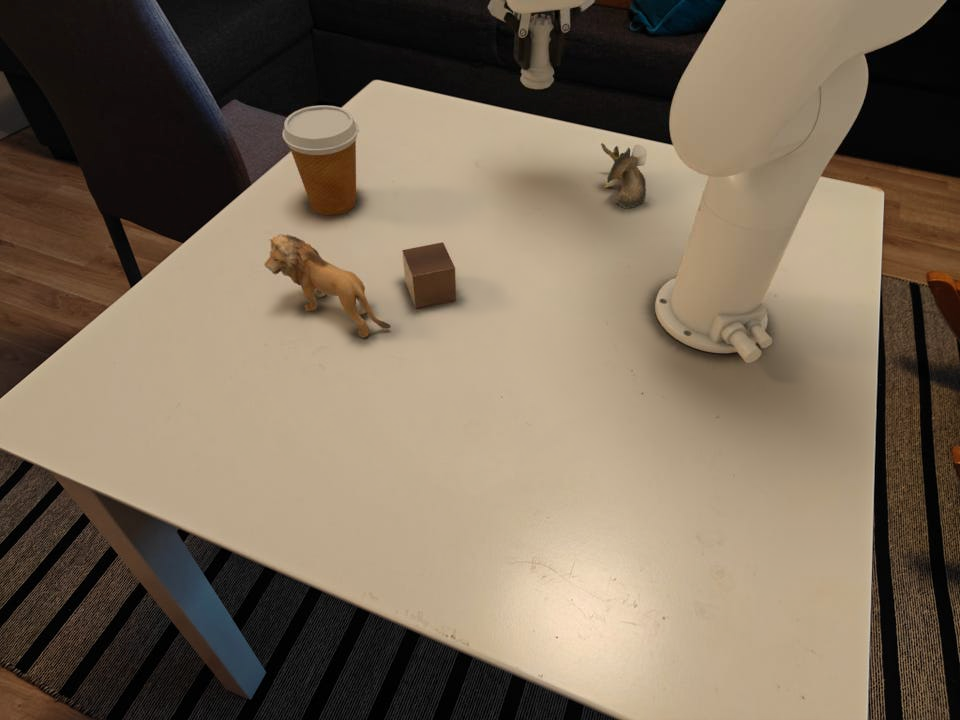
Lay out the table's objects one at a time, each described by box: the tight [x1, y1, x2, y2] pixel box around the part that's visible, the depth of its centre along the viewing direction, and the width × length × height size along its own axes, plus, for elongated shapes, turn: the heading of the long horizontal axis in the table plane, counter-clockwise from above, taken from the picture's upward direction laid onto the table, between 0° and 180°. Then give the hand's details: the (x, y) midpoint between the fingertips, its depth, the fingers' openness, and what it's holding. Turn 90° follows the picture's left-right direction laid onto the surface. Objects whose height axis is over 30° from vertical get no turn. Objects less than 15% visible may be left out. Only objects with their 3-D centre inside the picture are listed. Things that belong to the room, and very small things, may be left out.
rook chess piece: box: [519, 13, 555, 90], centre depth 82 cm, size 4×4×8 cm
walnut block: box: [401, 242, 457, 310], centre depth 76 cm, size 5×5×5 cm
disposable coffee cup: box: [282, 104, 359, 216], centre depth 86 cm, size 10×10×12 cm
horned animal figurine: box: [600, 142, 647, 209], centre depth 91 cm, size 8×7×9 cm
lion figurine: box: [264, 233, 391, 339], centre depth 72 cm, size 15×5×9 cm, turn 66°
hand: (538, 62), depth 83 cm, fingers closed on rook chess piece, 3 cm apart
